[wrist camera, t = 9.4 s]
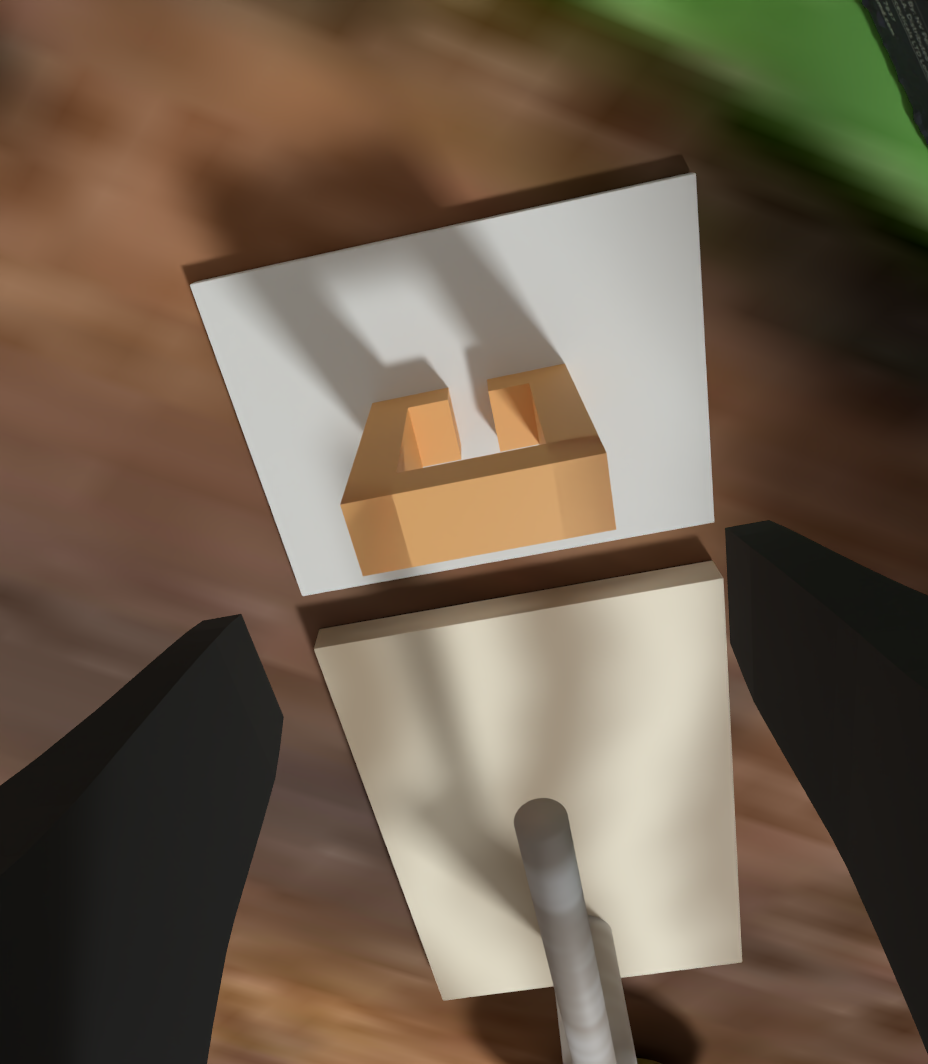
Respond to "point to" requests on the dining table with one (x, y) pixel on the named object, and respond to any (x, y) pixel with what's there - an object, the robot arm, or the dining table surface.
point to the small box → (906, 48)
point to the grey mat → (476, 357)
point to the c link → (476, 476)
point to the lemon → (646, 1061)
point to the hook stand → (554, 787)
